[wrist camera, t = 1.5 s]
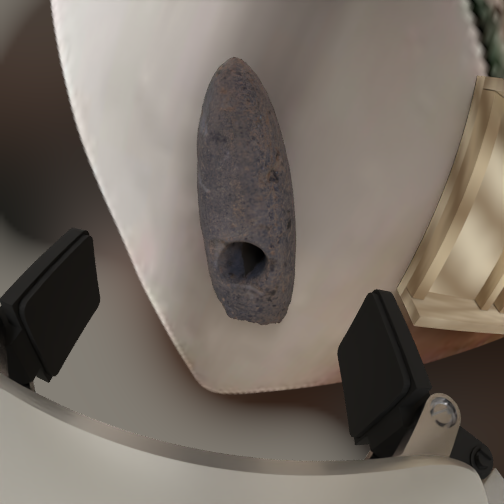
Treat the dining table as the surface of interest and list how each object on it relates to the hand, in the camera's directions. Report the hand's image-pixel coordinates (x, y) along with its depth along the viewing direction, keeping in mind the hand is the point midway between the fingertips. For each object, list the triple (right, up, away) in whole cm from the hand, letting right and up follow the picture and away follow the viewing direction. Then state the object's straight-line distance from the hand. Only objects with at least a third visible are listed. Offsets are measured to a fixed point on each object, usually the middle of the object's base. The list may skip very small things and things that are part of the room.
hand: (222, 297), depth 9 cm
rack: (+22, +5, +9) cm, 24 cm away
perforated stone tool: (+1, +7, +10) cm, 12 cm away
